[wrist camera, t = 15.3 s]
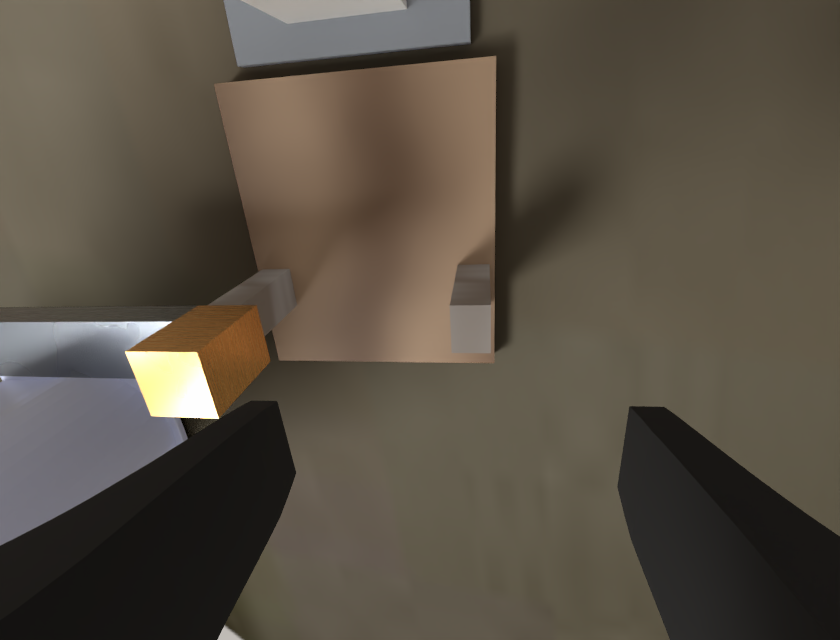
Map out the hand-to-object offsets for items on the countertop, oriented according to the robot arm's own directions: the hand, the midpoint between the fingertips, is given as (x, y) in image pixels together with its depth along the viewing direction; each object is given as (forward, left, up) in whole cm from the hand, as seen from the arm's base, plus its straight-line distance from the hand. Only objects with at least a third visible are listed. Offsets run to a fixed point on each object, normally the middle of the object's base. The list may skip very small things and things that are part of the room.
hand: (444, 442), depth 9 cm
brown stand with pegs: (-4, +2, -9) cm, 10 cm away
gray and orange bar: (-11, 0, -4) cm, 12 cm away
